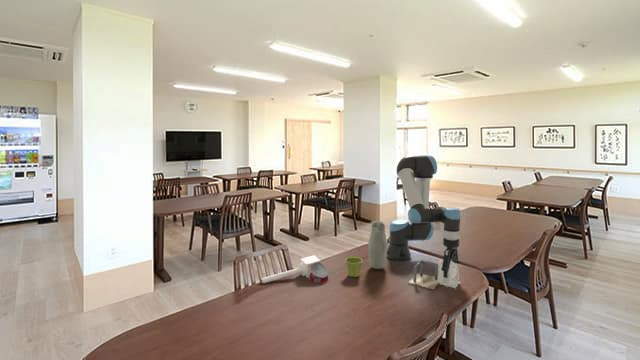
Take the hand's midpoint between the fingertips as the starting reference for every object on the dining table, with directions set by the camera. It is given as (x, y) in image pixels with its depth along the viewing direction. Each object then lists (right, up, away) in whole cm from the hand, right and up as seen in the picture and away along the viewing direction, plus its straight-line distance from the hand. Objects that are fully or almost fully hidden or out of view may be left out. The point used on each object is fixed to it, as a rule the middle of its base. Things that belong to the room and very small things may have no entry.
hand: (449, 279), depth 173 cm
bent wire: (-11, -2, +3) cm, 12 cm away
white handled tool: (-83, -3, +10) cm, 83 cm away
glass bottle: (-33, -1, +23) cm, 41 cm away
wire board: (-11, -3, +4) cm, 12 cm away
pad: (0, -3, 0) cm, 3 cm away
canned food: (-67, -3, +8) cm, 68 cm away
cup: (-1, -2, 0) cm, 2 cm away
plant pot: (-48, -2, +14) cm, 50 cm away
